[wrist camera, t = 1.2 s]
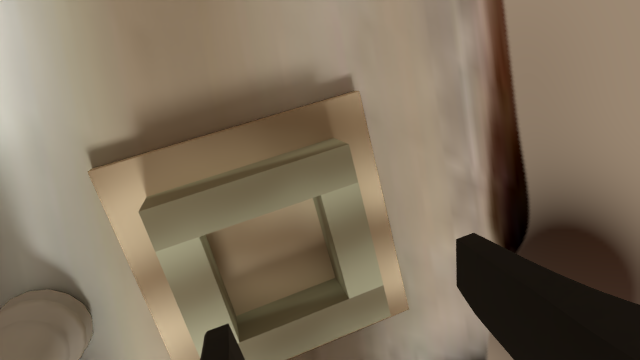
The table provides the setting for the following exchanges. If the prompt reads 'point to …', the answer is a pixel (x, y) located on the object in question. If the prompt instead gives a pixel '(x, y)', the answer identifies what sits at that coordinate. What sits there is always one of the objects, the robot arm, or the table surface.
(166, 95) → the table surface
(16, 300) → the rook chess piece
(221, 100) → the table surface
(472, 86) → the table surface
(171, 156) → the socket stand
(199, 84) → the table surface
